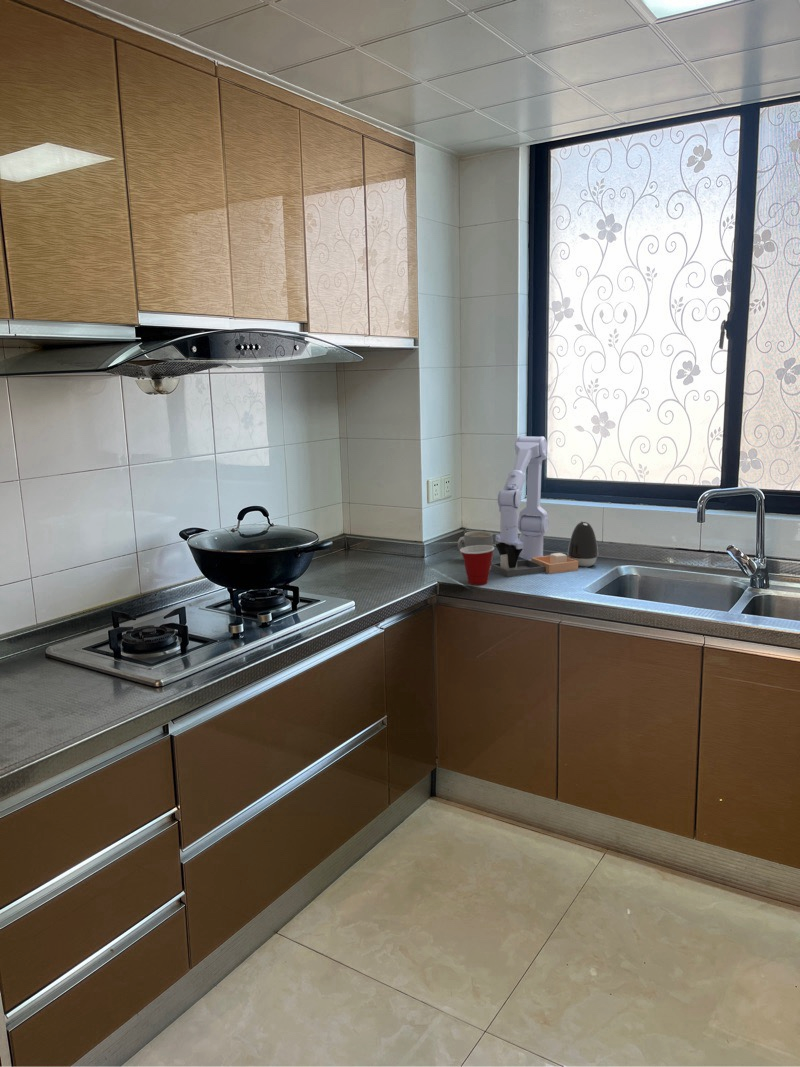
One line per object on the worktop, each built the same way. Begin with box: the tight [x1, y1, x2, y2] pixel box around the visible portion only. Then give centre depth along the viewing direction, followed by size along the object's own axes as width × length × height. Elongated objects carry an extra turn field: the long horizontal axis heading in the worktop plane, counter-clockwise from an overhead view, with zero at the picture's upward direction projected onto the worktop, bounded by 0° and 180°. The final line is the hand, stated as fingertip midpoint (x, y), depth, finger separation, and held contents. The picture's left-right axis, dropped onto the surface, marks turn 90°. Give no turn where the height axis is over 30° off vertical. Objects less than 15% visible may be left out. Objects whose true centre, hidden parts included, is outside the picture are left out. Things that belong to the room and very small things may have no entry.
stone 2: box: [549, 552, 568, 564], centre depth 270 cm, size 4×4×4 cm
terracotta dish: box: [530, 554, 579, 575], centre depth 270 cm, size 11×11×4 cm
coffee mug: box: [457, 530, 494, 563], centre depth 283 cm, size 13×10×10 cm
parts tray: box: [490, 559, 546, 578], centre depth 267 cm, size 11×14×3 cm
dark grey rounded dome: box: [567, 521, 599, 568], centre depth 274 cm, size 10×10×15 cm
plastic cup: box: [459, 545, 495, 586], centre depth 252 cm, size 11×11×12 cm
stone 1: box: [499, 554, 517, 570], centre depth 265 cm, size 4×4×4 cm
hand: (508, 566), depth 265 cm, fingers closed on stone 1, 4 cm apart
